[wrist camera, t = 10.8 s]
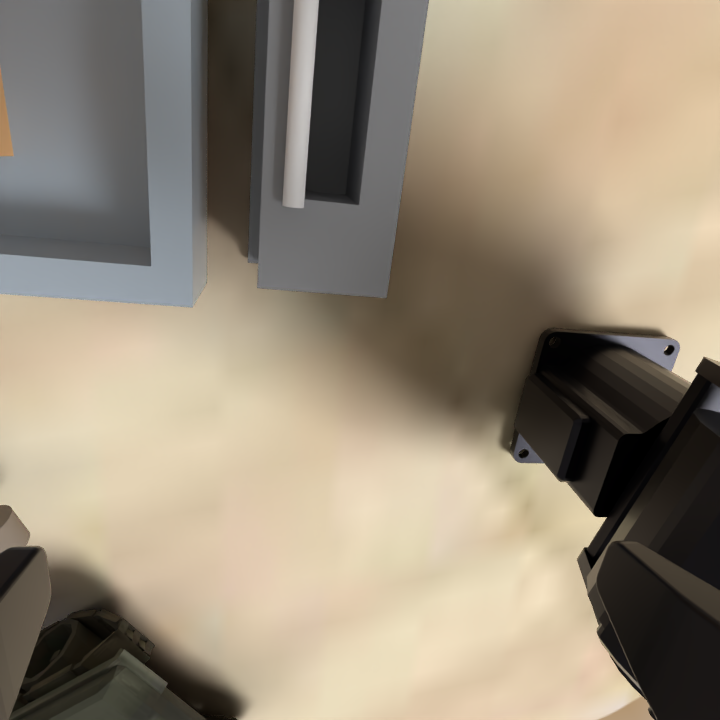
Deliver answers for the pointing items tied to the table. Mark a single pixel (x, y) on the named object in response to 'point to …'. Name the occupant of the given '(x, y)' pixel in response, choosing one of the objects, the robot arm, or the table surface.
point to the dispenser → (331, 140)
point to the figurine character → (11, 529)
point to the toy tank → (96, 675)
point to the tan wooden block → (4, 125)
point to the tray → (105, 150)
